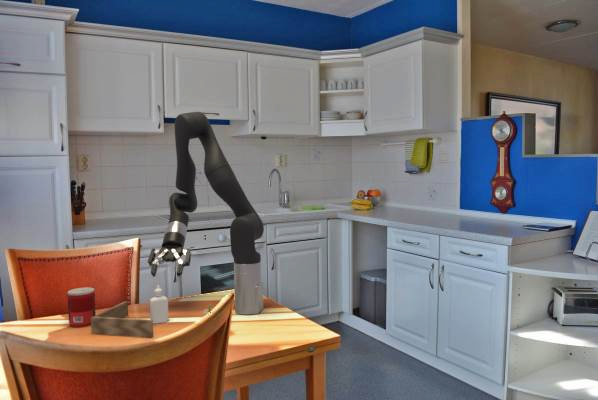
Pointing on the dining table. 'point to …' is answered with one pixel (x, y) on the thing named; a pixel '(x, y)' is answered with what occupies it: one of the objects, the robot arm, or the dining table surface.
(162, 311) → the eye dropper bottle
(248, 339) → the dining table surface
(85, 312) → the canned food
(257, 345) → the dining table surface
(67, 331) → the dining table surface
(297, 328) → the dining table surface
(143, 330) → the corner arena
